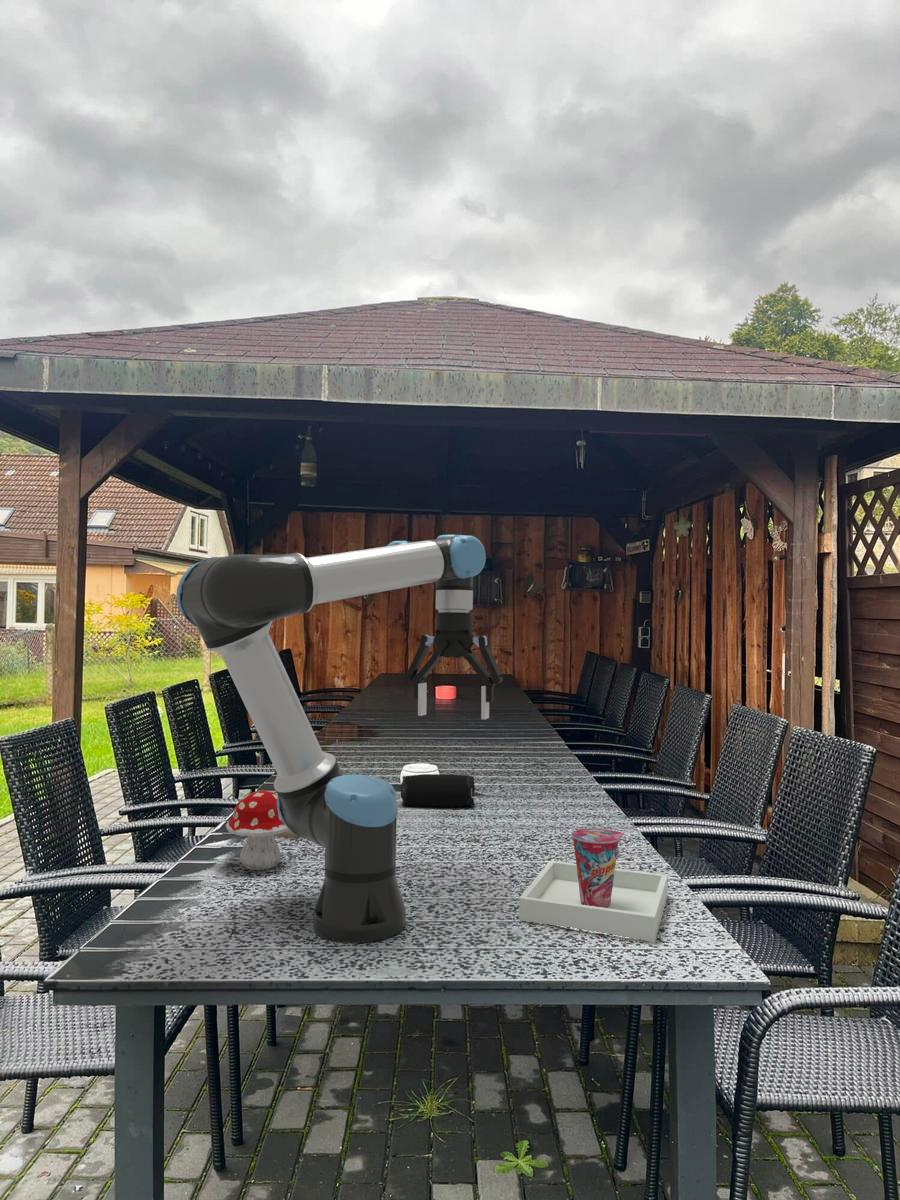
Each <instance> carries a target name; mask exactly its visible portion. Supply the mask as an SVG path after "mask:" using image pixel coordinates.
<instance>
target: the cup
mask: <svg viewBox="0 0 900 1200" xmlns="http://www.w3.org/2000/svg"><path fill="white" fill-rule="evenodd" d="M624 835H625V833H624V832H621V831H617V830H611V829H604V828H603V829H602V828H581V829H575V830H573V831H572V832H571V837H572V841H573V842H572V843H573V850H574V856H575V864H576V866H577V874H578V883H579V892H580V901H581V904H582V905H588V906H595V907H602V908H608V907H609V906H610V903H611V895H612V887H613V879H614V872H615V869H616V864H617V858H618V857H617V856H618V851H619V850H618V849H619V843H620V841H621V838H622V837H623V836H624Z"/></svg>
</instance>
